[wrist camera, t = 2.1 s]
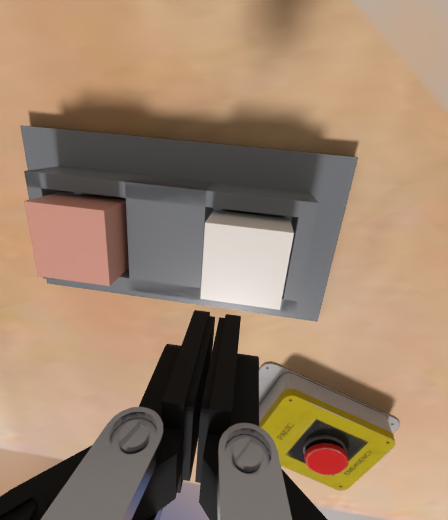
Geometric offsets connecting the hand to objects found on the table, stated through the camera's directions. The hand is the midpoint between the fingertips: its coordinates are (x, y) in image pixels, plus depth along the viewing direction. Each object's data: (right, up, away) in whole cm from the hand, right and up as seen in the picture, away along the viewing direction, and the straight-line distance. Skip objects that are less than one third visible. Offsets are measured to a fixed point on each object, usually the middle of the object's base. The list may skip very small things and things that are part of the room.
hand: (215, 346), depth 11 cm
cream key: (+2, +4, +10) cm, 11 cm away
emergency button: (+9, -13, +20) cm, 26 cm away
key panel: (-3, +6, +13) cm, 15 cm away
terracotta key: (-9, +5, +11) cm, 15 cm away
